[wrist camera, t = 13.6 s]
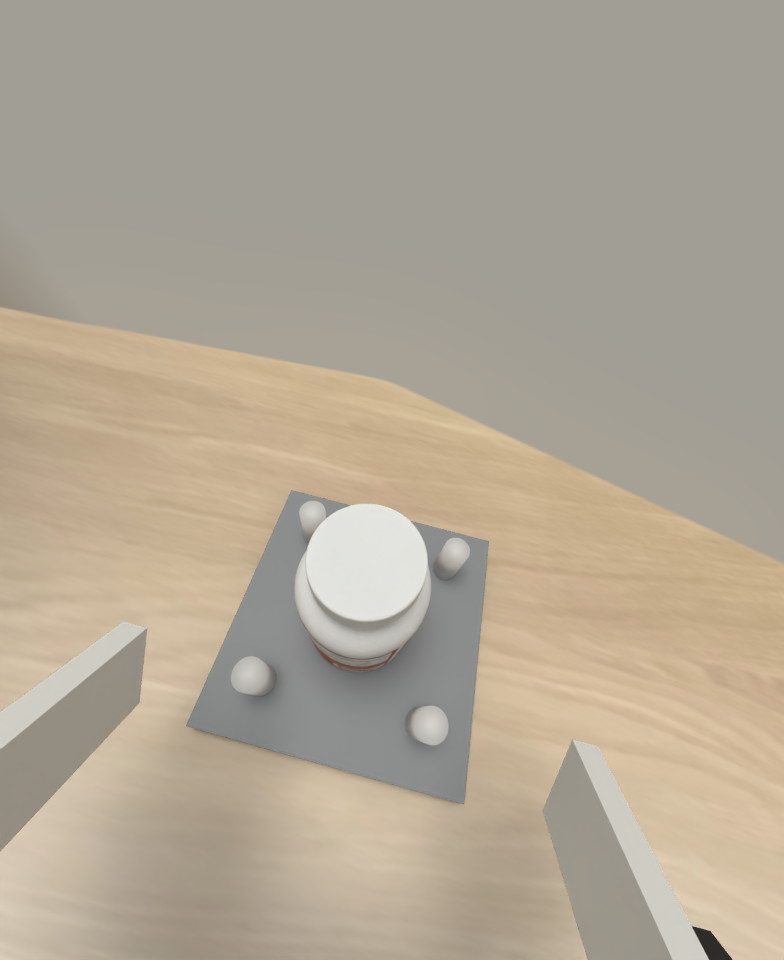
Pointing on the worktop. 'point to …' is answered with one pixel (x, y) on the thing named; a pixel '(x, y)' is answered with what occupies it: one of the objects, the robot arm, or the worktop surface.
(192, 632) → the worktop surface
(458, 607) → the peg board
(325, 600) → the pill bottle
